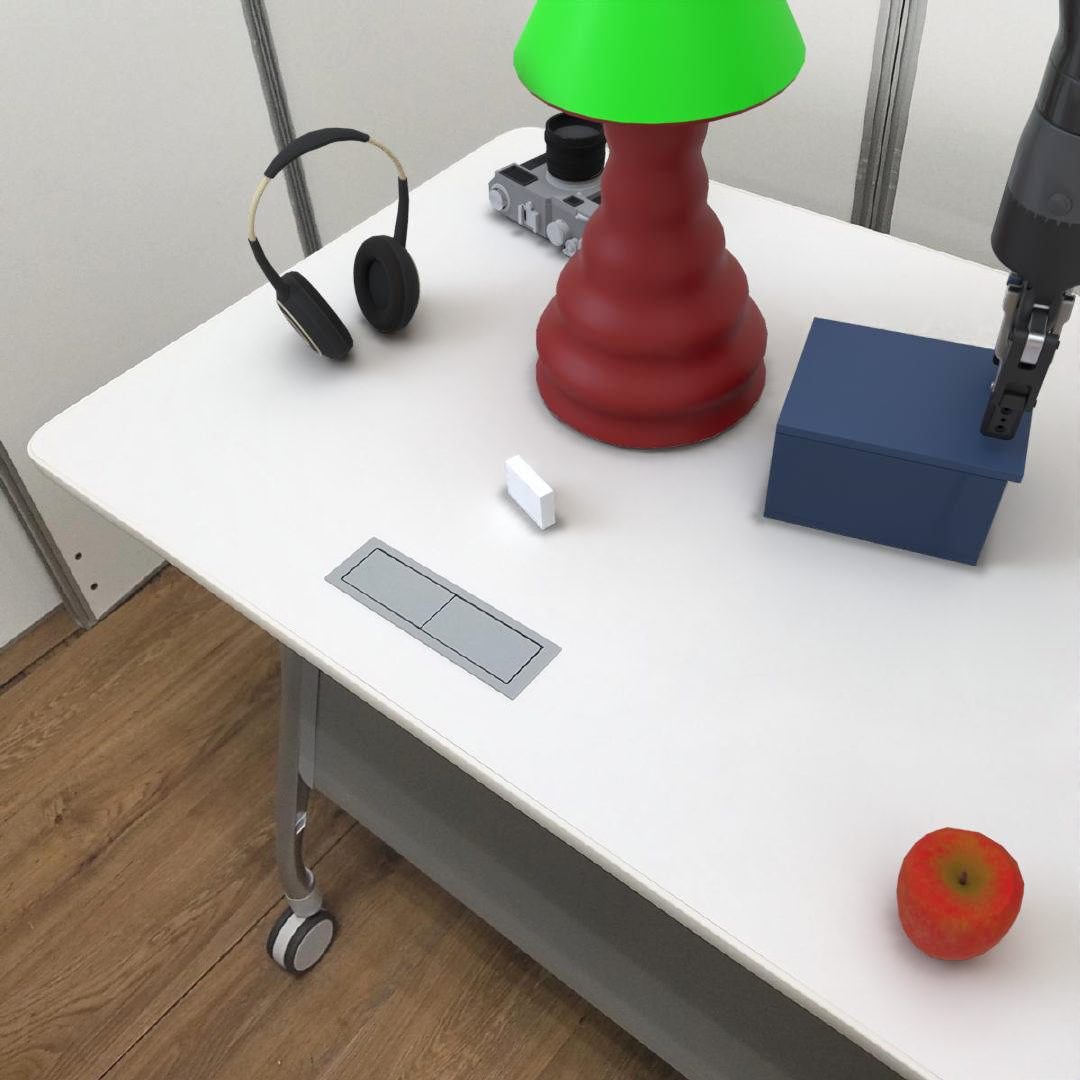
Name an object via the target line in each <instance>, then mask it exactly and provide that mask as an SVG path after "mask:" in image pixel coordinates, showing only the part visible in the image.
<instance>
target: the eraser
mask: <svg viewBox="0 0 1080 1080" xmlns="http://www.w3.org/2000/svg"><path fill="white" fill-rule="evenodd" d="M504 467H505V475H506V485H507V493H508V495H509V496H510V497H511V498H512V499H513V500H514V501H515V502H516V503H517V505H518V506H519V507H520V508H521V509H522V510H523V511H524V512H525V513H526V514H527V516H529V518H531V519H532V520H533V521H534V522H535V524H536V525H537V527H539V528H540V529H541V530H542V531H543V530H545V529H547V528H549V527H551V526H553V525H555V524H556V510H555V498H554V497H555V494H554V493H555V492H554V489H552V487H551V486H550V485H548V483H546V481H545V480H544V479H543V478H542V477H541V476H540V475H539V474H538V473H537V472H536V471H535V470H534V469H533V468H532V467H531V466H530V465H529V464H528V463H527V462H526V461H525V460H524V459H523V458H522V457H521V456H520V455H519V454H515V455H514V456H512V457H510V458H508V459H506V460H504Z"/></svg>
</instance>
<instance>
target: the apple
mask: <svg viewBox="0 0 1080 1080" xmlns="http://www.w3.org/2000/svg"><path fill="white" fill-rule="evenodd" d="M895 891H896V903H897V904H896V905H897V914H898V918H899V921H900V923H901V926H902V929H903V931H904V933H905V934H906V936H907V938H909V940H910V941H911V942H912V944H914V946H915V947H916V948H917V949H919V951H921V952H922V953H924V954H926V955H927V956H929V957H930V958H933V959H939V960H943V961H964V960H971V959H974V958H977V957H980V956H982V955H984V954H986V953H987V952H989V951H990V950H992V949H993V948H994V947H996V946H997V945H998V944H999V943H1000V942H1001V941H1002V940H1003V939H1004V937H1005V936H1007V934H1008V933H1009V932H1010V930H1011V929H1012V928H1013V926H1014V924H1015V922H1016V920H1017V917H1018V916H1019V914H1020V912H1021V909H1022V904H1023V899H1024V898H1023V897H1024V894H1025V880H1024V878H1023V876H1022V872H1021V870H1020V866H1019V863H1018V861H1017V860H1016V859H1015V858H1014V856H1012V854H1011V853H1010V852H1009V851H1008V850H1007V849H1006V848H1005V846H1003V845H1002V844H1000V843H998V842H997V841H995V840H993V839H992V838H990V837H989V836H987V835H985V834H983V833H982V832H980V831H974V830H969V829H962V828H956V827H950V826H946V827H942V828H939V829H935V830H933V831H931V832H928V833H926V834H925V835H924V836H922V837H921V838H919V839H918V840H917V841H916V842H914V844H913V845H912V847H911V848H910V849H909V851H908V852H907V853H906V855H904V857H903V858H902V863H901V866H900V868H899V872H898V876H897V881H896V890H895Z"/></svg>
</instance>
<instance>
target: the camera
mask: <svg viewBox="0 0 1080 1080" xmlns="http://www.w3.org/2000/svg"><path fill="white" fill-rule="evenodd" d="M544 127H545V129H544V132H543V139H544V143H545V152H544V153H541V154H539V155H537V156H535V157H533V158H530V159H529V160H526V161H525V162H522V163H520V164H518V163H516V162H515V161H514V162H512V163H510V164H507V165H505V166H503V167H501V168H499V169H497V170H495V171H494V177H493V178H492V179H491V180H490V181H488V184H487V185H488V186H487V187H488V201H489V203H490V205H491V207H492V208H493V209H495V211H497V212H498V213H500V214H502V215H503V216H506V217H508V218H509V219H511V220H512V221H515V222H516V223H517V224H519V225H521V226H523V227H525V228H527V229H529V230H531V231H532V232H533V233H535V234H538V235H540V236H541V237H543V238H545V239H549V241H550V242H551V244H552V245H554V246H556V247H560V246H562V245H564V247H563V248H562V251H561V252H562V254H564V255H566V256H568V257H569V258H571V257H572V256H573V255H574V254H575V253H576V252H577V251H578V250H579V249H580V248H581V239H582V234H583V231H584V227H585V225H586V223H587V222H588V220H589V219H590V217H591V215H592V214H593V213H594V211H595V210H596V209H597V208H598V207H599V205H600V204H601V190H600V182H601V177H602V173H603V170H604V167H605V164H606V156H607V155H606V153H607V152H606V145H607V141H606V137H605V134H604V127H603V123H598V122H593V121H589V120H586V119H582V118H578V117H575V116H571V115H568V114H566V113H564V112H559V113H556V114H553V115H551V116H550V117H549V118H548V119H547V120H546V122H545V126H544Z"/></svg>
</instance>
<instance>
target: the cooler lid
mask: <svg viewBox="0 0 1080 1080" xmlns="http://www.w3.org/2000/svg"><path fill="white" fill-rule="evenodd" d="M1009 343H1010V341H1009V339H1008V340H1007V344H1008V345H1009ZM994 349H995V348H988V347H983V346H978V345H972V344H966V343H960V342H956V341H950V340H944V339H938V338H933V337H927V336H922V335H917V334H913V333H906V332H899V331H896V330H895V331H894V330H889V329H883V328H878V327H873V326H867V325H862V324H856V323H850V322H846V321H841V320H840V321H839V320H834V319H829V318H823V317H818V316H814V317H813V319H812V323H811V326H810V328H809V331H808V334H807V336H806V340H805V343H804V346H803V348H802V351H801V354H800V357H799V359H798V362H797V366H796V368H795V371H794V373H793V376H792V380H791V383H790V385H789V388H788V391H787V393H786V396H785V398H784V402H783V405H782V408H781V411H780V413H779V416H778V419H777V422H776V425H775V433H776V432H779V433H783V434H788V435H793V436H798V437H802V438H807V439H812V440H817V441H821V442H826V443H831V444H835V445H840V446H845V447H850V448H854V449H859V450H864V451H868V452H873V453H878V454H883V455H887V456H892V457H897V458H901V459H906V460H911V461H916V462H920V463H925V464H930V465H934V466H939V467H944V468H949V469H953V470H958V471H963V472H967V473H972V474H977V475H982V476H986V477H991V478H996V479H1000V480H1005V481H1008V482H1010V483H1015V484H1018V485H1019V484H1022V482H1023V479H1024V476H1025V470H1026V463H1027V456H1028V448H1029V442H1030V433H1031V427H1032V422H1033V421H1032V420H1033V414H1034V413H1033V412H1034V409H1033V410H1032V412H1031V413H1029V412H1024V413H1023V416H1022V418H1021V421H1020V424H1019V426H1018V429H1017V432H1016V434H1015V437H1014V438H1013V439H1011V440H1002V439H997V438H992V437H987V436H984V435H982V434H981V433H980V427H981V422H982V419H983V416H984V413H985V410H986V407H987V405H988V402H989V398H990V394H991V390H992V389H990V386H991V382H992V381H993V382H994V379H995V376H996V372H997V369H998V366H996V365H995V364H994V363H993V355H994ZM999 362H1000V360H999Z"/></svg>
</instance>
